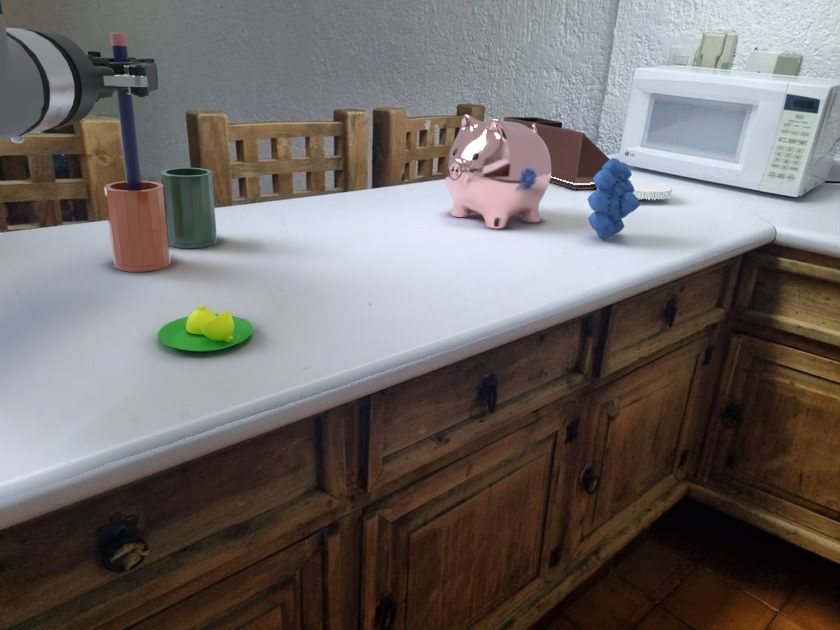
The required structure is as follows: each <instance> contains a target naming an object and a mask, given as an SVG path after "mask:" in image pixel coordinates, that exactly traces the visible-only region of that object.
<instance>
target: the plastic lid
mask: <svg viewBox="0 0 840 630" xmlns="http://www.w3.org/2000/svg"><path fill="white" fill-rule="evenodd" d="M629 180H630V181H631V183H632V185H633V187H634V190H635V191H634V192H633V194H634V195H635V196H636V198H638V199H637V200H642V199H646V200H645V201H647V199H648V201H660V200H659V199H661V200H662V199H663V200H666V199H665V198H668V197H670V196H671V197H672V191H673V188H672V186H670V185H668V184H665V183H662V182H657V181H654V180H648V179H640V178H632V177H630V178H629ZM671 197H670V198H671ZM650 199H652V200H650ZM653 199H654V200H653ZM656 199H658V200H656ZM668 199H669V198H668Z"/></svg>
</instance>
